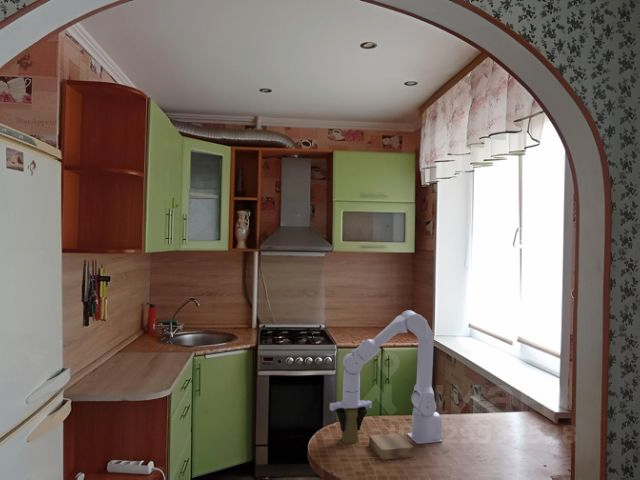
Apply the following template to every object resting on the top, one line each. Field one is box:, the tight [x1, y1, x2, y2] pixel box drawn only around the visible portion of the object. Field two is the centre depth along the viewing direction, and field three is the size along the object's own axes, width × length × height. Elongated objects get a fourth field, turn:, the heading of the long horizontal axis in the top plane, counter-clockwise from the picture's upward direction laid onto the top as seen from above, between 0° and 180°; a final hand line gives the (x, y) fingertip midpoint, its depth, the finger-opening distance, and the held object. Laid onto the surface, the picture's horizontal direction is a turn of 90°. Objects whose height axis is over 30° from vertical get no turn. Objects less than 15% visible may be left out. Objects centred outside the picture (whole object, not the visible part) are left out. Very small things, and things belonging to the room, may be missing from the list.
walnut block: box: [368, 432, 415, 460], centre depth 156 cm, size 11×11×3 cm
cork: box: [340, 408, 360, 445], centre depth 163 cm, size 6×6×11 cm
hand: (350, 429), depth 163 cm, fingers closed on cork, 5 cm apart
